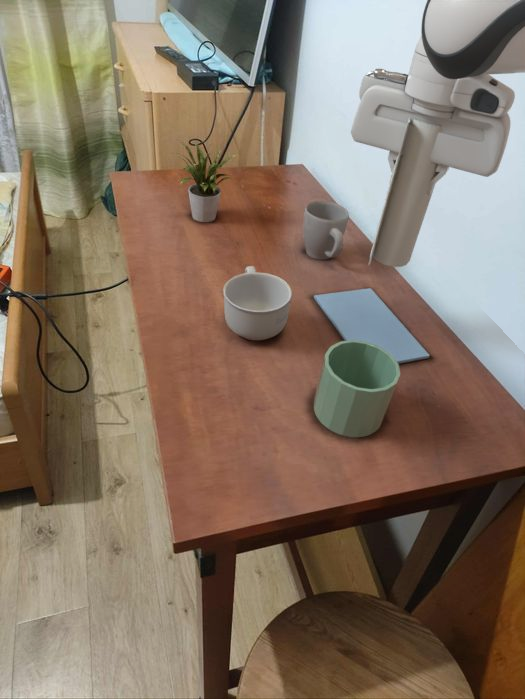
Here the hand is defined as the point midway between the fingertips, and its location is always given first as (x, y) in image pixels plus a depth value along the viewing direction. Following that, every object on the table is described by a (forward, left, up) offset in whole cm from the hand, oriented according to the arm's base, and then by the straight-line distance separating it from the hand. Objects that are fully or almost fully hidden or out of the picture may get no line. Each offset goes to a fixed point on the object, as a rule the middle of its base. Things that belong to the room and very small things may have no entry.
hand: (410, 188), depth 73 cm
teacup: (+17, +11, -26) cm, 33 cm away
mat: (0, 0, -25) cm, 25 cm away
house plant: (+46, -16, -25) cm, 55 cm away
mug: (+16, -17, -25) cm, 35 cm away
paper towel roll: (+1, 0, -12) cm, 12 cm away
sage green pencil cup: (-4, +21, -25) cm, 33 cm away
